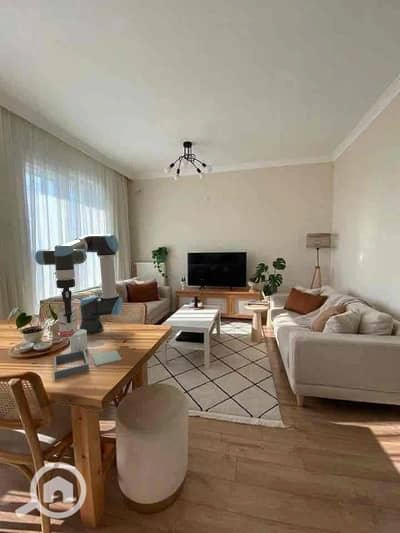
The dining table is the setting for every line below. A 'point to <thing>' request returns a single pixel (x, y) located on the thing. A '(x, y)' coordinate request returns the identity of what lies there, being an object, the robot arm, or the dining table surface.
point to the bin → (72, 370)
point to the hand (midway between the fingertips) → (68, 326)
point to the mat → (106, 358)
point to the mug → (79, 341)
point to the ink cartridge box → (62, 325)
